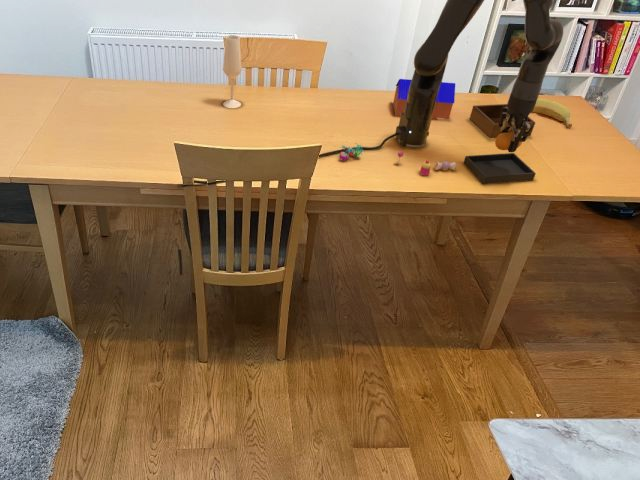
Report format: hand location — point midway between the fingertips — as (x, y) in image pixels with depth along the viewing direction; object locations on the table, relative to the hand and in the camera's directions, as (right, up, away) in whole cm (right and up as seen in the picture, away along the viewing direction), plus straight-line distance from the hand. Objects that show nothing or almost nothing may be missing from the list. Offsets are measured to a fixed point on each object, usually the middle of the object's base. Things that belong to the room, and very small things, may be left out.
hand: (506, 147), depth 181 cm
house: (-16, +22, +38) cm, 47 cm away
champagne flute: (-86, +25, +37) cm, 97 cm away
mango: (0, 0, 0) cm, 1 cm away
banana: (+30, +19, +38) cm, 52 cm away
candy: (-24, -6, +5) cm, 25 cm away
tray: (0, -7, +6) cm, 9 cm away
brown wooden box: (+10, +14, +29) cm, 34 cm away
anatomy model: (-48, -1, +9) cm, 48 cm away
